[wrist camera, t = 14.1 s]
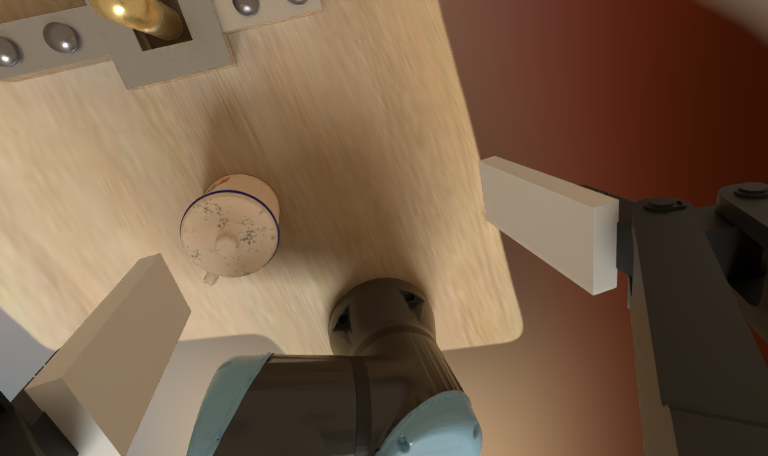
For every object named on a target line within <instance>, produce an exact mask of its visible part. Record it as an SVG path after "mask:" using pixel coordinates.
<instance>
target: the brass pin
mask: <svg viewBox="0 0 768 456" xmlns="http://www.w3.org/2000/svg"><path fill="white" fill-rule="evenodd" d="M88 1H89V3H90V5H91V6H92V8H93V9H94V10H95V11H96V12H97V13H98V14H99V15H100V16H102V17H103V18H105V19H108V20H110V21H113V22H116V23H119V24H122V25H124V26H127V27H130V28H133V29H136V30H138V31H141V32H144V33H147V34H150V35H153V36H155V37H158V38H161V39H164V40H175V39H177V38H178V37H179V36H180V35H181V33H182V30H183V23H182V20H181V18H180V16H179V15H178V13H177V12H176V11H175V10H173V9H172V8H170V7H169V6H167V5H165V4H164V3H162V2H161V1H159V0H88Z"/></svg>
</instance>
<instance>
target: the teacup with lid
mask: <svg viewBox="0 0 768 456" xmlns="http://www.w3.org/2000/svg"><path fill="white" fill-rule="evenodd" d="M279 215H280V208H279V203H278V200H277V197H276V195H275V194H274V192H273V191H272V189H271V188H270V187H269V186H268V185H267V184H266V183H264V182H263V181H261V180H259V179H258V178H255V177H253V176H249V175H243V174H234V175H228V176H225V177H222V178H220V179H219V180H217V181H215V182H214V183H213V184H212V185H211V186H210V187H209V188H208V189H207V190H206V192H205V193H204V194H203V195H202V196H201V197H200V198H198V199H197V200H196V201H194V202H193V203H192V204H191V205H190V206H189V208H188V209H187V210H186V212H185V214H184V216H183V218H182V221H181V226H180V236H181V241H182V245H183V248H184V250H185V252H186V253H187V255H188V256H189V258H190V259H191V260H192V261H193V262H194V263H195V264H196V265H197V266H199V267H200V268H201V269H203V270H205V271H207V273H206V275H205V278H204V283H205V284H208V285H211V286H212V285H214V284H215V283H216V281H217V279H218V277H219V276H222V277H241V276H245V275H249V274H251V273H254V272H256V271H258V270H259V269H261V268H262V267H263V266H265V265H266V264H267V263H268V262H269V261H270V260H271V258H272V257H273V256H274V254H275V252H276V250H277V247H278V243H279V227H278V224H279Z"/></svg>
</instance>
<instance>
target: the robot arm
mask: <svg viewBox="0 0 768 456" xmlns="http://www.w3.org/2000/svg"><path fill="white" fill-rule="evenodd" d="M479 169H480V177H481V185H482V192H483V200H484V208H485V216H486V220H487V221H488V222H490V223H491V224H493V225H494V226H495V227H497V228H498V229H500V230H501V231H502V232H504V233H505V234H507V235H508V236H510V237H511V238H512V239H514V240H515V241H517V242H518V243H520V244H521V245H522V246H524V247H525V248H527V249H528V250H530V251H531V252H533V253H534V254H535V255H537V256H538V257H539V258H541V259H542V260H544V261H545V262H547V263H548V264H549V265H551V266H552V267H554V268H555V269H557V270H558V271H559V272H561V273H562V274H564V275H565V276H567V277H568V278H569V279H571V280H572V281H574V282H575V283H576V284H578V285H579V286H581V287H582V288H584V289H585V290H587V291H588V292H589V293H591V294H592V295H596V294H599V293H602V292H604V291H607V290H610V289H613V288H616V287H617V269H619V270H621V271H623V272H624V273H626V274H628V275H629V277H628V301H627V308H628V309H630V312H631V321H632V332H633V342H634V353H635V363H636V373H637V384H638V394H639V404H640V414H641V425H642V435H643V444H644V455H645V456H768V368H767V366H766V364H765V362H764V360H763V357H762V355H761V353H760V351H759V349H758V347H757V345H756V342H755V340H754V338H753V336H752V334H751V332H750V330H749V327H748V325H747V323H746V321H747V322H748V323H749V324H750V325H751V326H752V327H753V328H754V330H755V331H756V332H757V333H758V334H759V335H760V336H761V337H762V338H763V339H764V340H765V341H766V342H767V343H768V185H765V184H764V183H754V182H750V183H749V182H748V183H745V184H735V185H730V186H726V187H723V188H721V189H720V190H719V192H718V196H717V203H716V205H714V206H708V207H700V208H693V206H692V205H691V204H689V203H688V202H686V201H683V200H680V199H675V198H668V197H654V198H646V199H642V200H638V201H637V202H633V201H630V200H627V199H624V198H621V197H618V196H616V195H613V194H608V193H607V192H604V191H599V190H598V189H595V188H592V187H589V186H586V185H578V184H573V183H570V182H567V181H564V180H561V179H558V178H556V177H553V176H550V175H547V174H544V173H541V172H538V171H536V170H533V169H530V168H527V167H524V166H522V165H519V164H516V163H513V162H510V161H507V160H504V159H502V158H499V157H496V156H494V157H490V158H487V159H484V160H480V161H479ZM190 313H191V310H190V308H189V306H188V304H187V303H186V301H185V299H184V297H183V295H182V293H181V291H180V289H179V287H178V285H177V284H176V282H175V280H174V278H173V276H172V274H171V272H170V270H169V268H168V266H167V265H166V263H165V261H164V259H163V257H162V255H161V253H159V254H156V255H153V256H149V257H146V258H142V259H140V260H139V261H138V262H137V263H136V264H135V265H134V266H133V267H132V269H131V270H130V271H129V272H128V273H127V274H126V275H125V276H124V278H123V279H122V280H121V281H120V282H119V283H118V284H117V285H116V287H115V288H114V289H113V290H112V291H111V292H110V293H109V294H108V296H107V297H106V298H105V299H104V300H103V301H102V302H101V303H100V305H99V306H98V307H97V308H96V309H95V310H94V311H93V312H92V314H91V315H90V316H89V317H88V318H87V319H86V320H85V321H84V323H83V324H82V325H81V326H80V327H79V328H78V329H77V330H76V332H75V333H74V334H73V335H72V336H71V337H70V338H69V339H68V341H67V342H66V343H65V344H64V345H63V346H62V347H61V348H60V349H58V350H57V351H56V352H55V353H54V354H53V355H52V356H51V358H50V359H49V360H48V361H47V362H46V363H45V366H43V367H42V368H41V369H40V370H39V371H38V372H37V373H36V374H35V377H33V378H32V379H31V380H30V381H29V382H28V383H27V384H26V386H25V387H24V388H23V389H22V390H21V391H20V392H19V393H18V394H17V396H16V397H15V398H14V399H13V400H12V401H11V402H9V400H8V399H7V398H6V397H5V396H4V395H3V393H2V392H1V391H0V456H78V455H79V456H126V454H127V452H128V449H129V447H130V445H131V443H132V441H133V438H134V436H135V434H136V432H137V430H138V427H139V425H140V423H141V421H142V419H143V416H144V414H145V412H146V410H147V408H148V405H149V403H150V401H151V399H152V397H153V394H154V392H155V390H156V388H157V386H158V383H159V381H160V379H161V377H162V375H163V372H164V370H165V368H166V366H167V364H168V362H169V359H170V357H171V355H172V353H173V351H174V348H175V346H176V344H177V342H178V340H179V337H180V335H181V333H182V331H183V329H184V326H185V324H186V322H187V320H188V318H189V315H190ZM745 320H746V321H745ZM328 332H329V340H330V346H331V349H332V352H333V354H334V355H281V354H279V355H278V354H274V353H267V354H263V355H244V356H243V355H240V356H235V357H232V358H229V359H228V360H226V361H225V362H224V363H223V364H222V365H221V366H220V367H219V368H218V369H217V371H216V373H215V374H214V376H213V378H212V380H211V383H210V385H209V387H208V389H207V391H206V394H205V397H204V399H203V402H202V405H201V407H200V410H199V413H198V416H197V419H196V422H195V425H194V429H193V433H192V436H191V439H190V443H189V447H188V451H187V455H186V456H480V453H481V449H482V431H481V427H480V424H479V422H478V420H477V418H476V415H475V413H474V411H473V409H472V405H471V402H470V399H469V397H468V396H467V395H466V394H465V393H464V391H463V389H462V387H461V386H460V384H459V382H458V380H457V379H456V377H455V375H454V373H453V372H452V370H451V368H450V366H449V365H448V363H447V361H446V360H445V358H444V356H443V354H442V352H441V351H440V349H439V347H438V345H437V343H436V333H435V320H434V315H433V312H432V309H431V307H430V305H429V303H428V302H427V300H426V298H425V297H424V295H423V294H422V293H421V292H420V291H419V290H418V289H417V288H416V287H414V286H413V285H411V284H409V283H407V282H404V281H401V280H397V279H376V280H372V281H368V282H365V283H363V284H361V285H359V286H357V287H355V288H353V289H352V290H350V291H349V292H348V293H347V294H346V295H344V296H343V297H342V298H341V300H340V301H339V302H338V303H337V305H336V306H335V308H334V310H333V312H332V314H331V317H330V320H329V327H328Z"/></svg>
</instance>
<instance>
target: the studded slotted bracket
mask: <svg viewBox="0 0 768 456" xmlns="http://www.w3.org/2000/svg"><path fill="white" fill-rule="evenodd" d="M85 2H86V4H87V5H86V6H81V7H77V8H72V9H67V10H62V11H57V12H53V13H48V14H43V15H38V16H34V17H29V18H24V19H19V20H14V21H10V22H5V23H0V82H17V81H21V80H26V79H30V78H34V77H39V76H43V75H48V74H52V73H56V72H61V71H65V70H70V69H74V68H78V67H83V66H87V65H92V64H96V63H100V62H105V61H109V60H113V61H114V64H115V66H116V68H117V70H118V72H119V74H120V76H121V78H122V80H123V83H124V85H125V87H126V89H140V88H144V87H149V86H153V85H157V84H161V83H165V82H170V81H174V80H178V79H182V78H186V77H191V76H195V75H199V74H203V73H207V72H212V71H216V70H220V69H224V68H228V67H233V66H237V64H236V61H235V58H234V56H233V53H232V50H231V47H230V44H229V41H228V39H227V36H226V34H228V33H233V32H237V31H241V30H246V29H250V28H255V27H259V26H263V25H268V24H272V23H277V22H281V21H285V20H290V19H294V18H299V17H303V16H307V15H312V14H316V13H321V12H322V6H321V2H320V0H178V3H179V6H180V8H181V11H182V13H183V16H184V18H185V21H186V24H187V26H188V29H189V31H190V34H191V36H192V39H193V40H191V41H187V42H182V43H178V44H173V45H169V46H165V47H160V48H156V49H151V47H150V44H149V42H148V40H147V38H146V35H145V33H144V32H141V31H138V30H136V29H133V28H130V27H127V26H124V25H122V24H119V23H116V22H113V21H110V20H108V19H105V18H103V17H102V16H100V15H99V14H98V13H97V12H96V11H95V10H94V9H93V8H92V6H91V5H90V3H89V1H88V0H85Z"/></svg>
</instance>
